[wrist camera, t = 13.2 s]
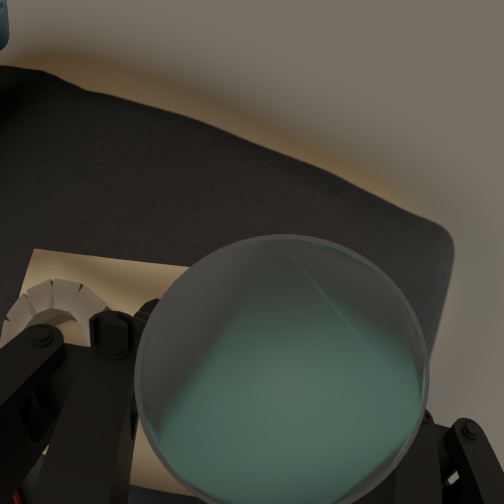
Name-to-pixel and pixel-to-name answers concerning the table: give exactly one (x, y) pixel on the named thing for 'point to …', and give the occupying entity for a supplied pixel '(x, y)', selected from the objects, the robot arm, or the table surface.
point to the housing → (83, 308)
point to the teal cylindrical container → (281, 374)
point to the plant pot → (15, 499)
